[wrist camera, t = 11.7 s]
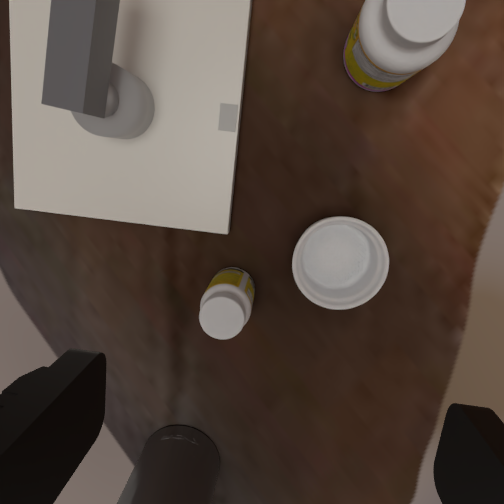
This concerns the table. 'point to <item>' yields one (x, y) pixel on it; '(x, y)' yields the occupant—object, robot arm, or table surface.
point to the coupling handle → (81, 56)
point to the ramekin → (340, 262)
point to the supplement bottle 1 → (227, 303)
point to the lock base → (173, 141)
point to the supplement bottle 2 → (398, 40)
